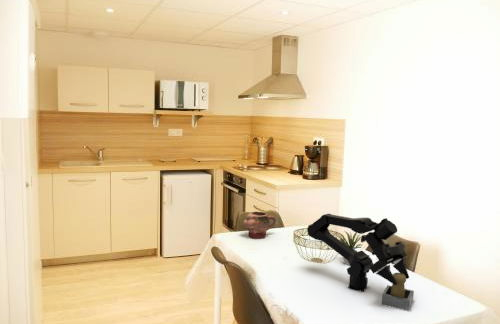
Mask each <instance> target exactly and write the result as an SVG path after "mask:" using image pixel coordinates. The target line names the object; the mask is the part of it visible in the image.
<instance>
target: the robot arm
mask: <svg viewBox="0 0 500 324" xmlns="http://www.w3.org/2000/svg"><path fill="white" fill-rule="evenodd" d="M330 225H332V226H337V227H341V228H347V229H350V230H351V231H352V232H354V233H355V232H357V234H358V235H361V237H362V238H360V243H365V242H366V243H367V245H368V246H369V248H370V249H371V251H372V252H371V255H372V256H376V258H377V261H375V262H374V263H373V259H372V258H371V257H370V255H369V254H367V253H366V252H365V251H364V250H359V251H357V252H355V251H353V250H352V249H351V248H349V247H348V246H347V245H345V244H344V243H343V242H342V241H341V240H340V238H339V239H338V238H337V237H336V236H334V235H333V234H332V233H330V230H329V227H330ZM306 230H307V235H308V236H309V237H310V238H312V239H314V240H316V241H320V242H323V243H324V244H326V245H327V246H328V247H329V248H331V249H332V250H334V251H335V252H336V253H338V254H339V255H340V256H341V257H342V258H343V257H344V258H345V259H347V260H348V262H349V264H350V265H349V267H348V268H347V269H346V272H347V274H348V275H349V283H348V284H349V285H348V286H347V289H350V290H353V291H358V292H364V291H365V290H367V288H368V280H369V279H368V277H367V275H368V273H369V272H370V271H371V272H372V274H376V275H378V276H380V277H382V278H384V279H385V280H386V281H388V282H389V283H391V285H392V284H394V285H396V284H397V282H396V280H395V278H394V276H393V273H392V271H391V265H392V267H393V268H394V269H395V270H396V271H398V273H402V274H404V275H405V276H406V280H408V279H410V275H409V273H408V269H407V266H406V260H407V256H408V254H407V253H406V250H405V248H406V245H405V244H404V243H403V242H402V241H401V240H400V241H397V242H395V244H394V245H390V244H389V243H385V241H386V240H388V239H390V238H391V237H392V236H394V235H395V234H397V232H398V227H397V226H396V224H395V223H393V222H392V221H390V220H389V219H388V218H387V217H386V218H383V219H381V220H380V222H379V223H378V222H375V221H373V220H372V219H371V218H370V217H355V218H354V217H353V218H352V217H347V216H341V215H335V214H332V213H325V214H322V215H321V216H320V217H319V218H318V219H316V220H315V221H313V223H312V224H309V225H308V226H307V229H306ZM366 233H367V234H366ZM344 258H343V259H344Z"/></svg>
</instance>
